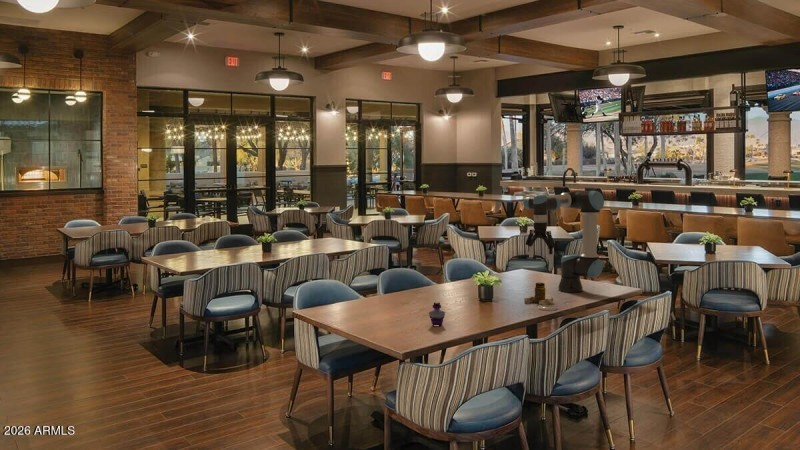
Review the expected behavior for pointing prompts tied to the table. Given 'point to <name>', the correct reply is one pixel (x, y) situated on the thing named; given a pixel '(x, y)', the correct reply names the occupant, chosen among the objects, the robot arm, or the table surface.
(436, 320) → the potion bottle
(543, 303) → the rail holder
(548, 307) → the plate
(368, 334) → the table surface
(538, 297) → the condiment
